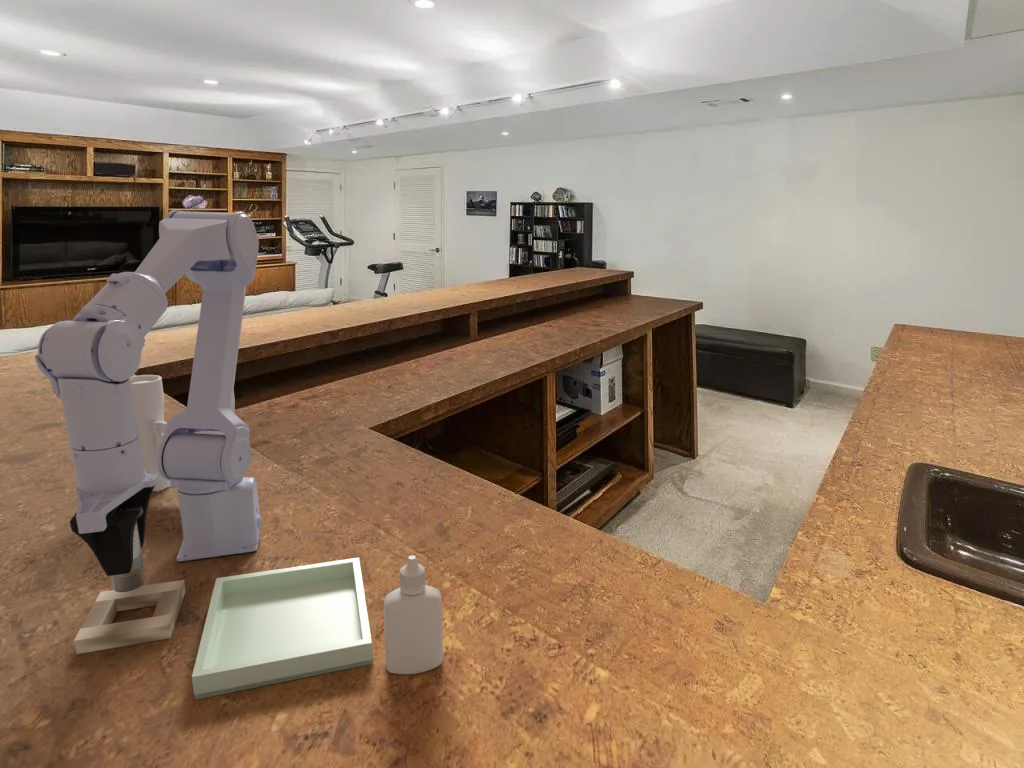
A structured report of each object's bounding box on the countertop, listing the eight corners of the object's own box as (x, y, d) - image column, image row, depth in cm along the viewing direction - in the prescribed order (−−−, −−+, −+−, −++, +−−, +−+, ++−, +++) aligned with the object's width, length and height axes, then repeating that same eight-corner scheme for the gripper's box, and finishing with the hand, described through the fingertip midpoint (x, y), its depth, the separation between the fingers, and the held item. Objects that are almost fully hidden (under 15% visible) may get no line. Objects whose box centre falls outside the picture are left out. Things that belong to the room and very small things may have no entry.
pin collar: (185, 591, 70) (184, 579, 70) (170, 638, 62) (168, 625, 62) (102, 604, 67) (100, 591, 67) (76, 654, 60) (73, 640, 59)
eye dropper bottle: (398, 642, 63) (395, 541, 59) (448, 653, 61) (448, 550, 58) (378, 671, 58) (374, 564, 55) (431, 684, 57) (430, 575, 54)
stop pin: (157, 569, 66) (147, 500, 64) (148, 592, 62) (136, 519, 60) (112, 575, 65) (99, 505, 63) (99, 599, 61) (85, 525, 59)
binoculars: (129, 492, 94) (111, 382, 89) (152, 477, 100) (137, 373, 95) (232, 499, 93) (220, 388, 88) (250, 484, 98) (240, 379, 93)
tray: (359, 575, 74) (359, 557, 73) (372, 663, 59) (371, 642, 59) (218, 597, 69) (216, 578, 68) (194, 699, 55) (191, 677, 54)
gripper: (131, 464, 54) (152, 594, 58) (166, 414, 67) (181, 522, 71) (38, 472, 52) (66, 607, 55) (93, 419, 65) (112, 530, 69)
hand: (125, 560), depth 63 cm, fingers closed on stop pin, 4 cm apart
